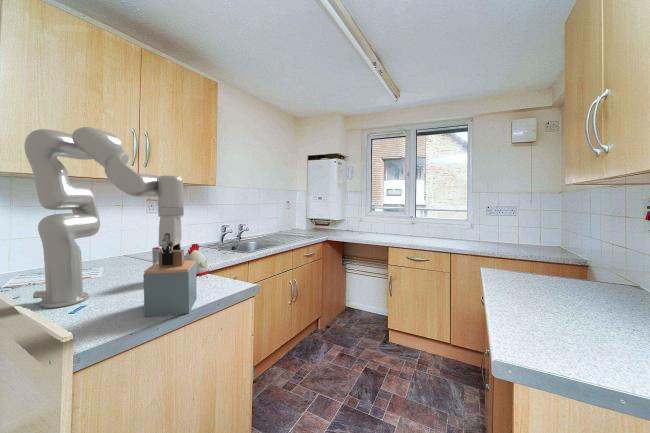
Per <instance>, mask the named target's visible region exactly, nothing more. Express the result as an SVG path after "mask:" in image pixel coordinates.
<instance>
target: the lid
mask: <svg viewBox="0 0 650 433" xmlns="http://www.w3.org/2000/svg"><path fill="white" fill-rule="evenodd" d="M172 253H173V265H162V251H160V252H159V262H156V263H155V264H153V263H152V264H151V266H150V267H148V268H146V269H145V270H143V271H144V273H143V274H158V273H180V272H189V270H190V269H191V268H192V267H193V265H194V264H195V260H188V261H184V256H185V249H181V250H172Z"/></svg>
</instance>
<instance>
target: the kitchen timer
mask: <svg viewBox="0 0 650 433" xmlns="http://www.w3.org/2000/svg"><path fill="white" fill-rule="evenodd" d="M199 250H200V245H199V243H193V244H192V243H191V246H190V247H189V249H187V252H186V253H185V254H184V261H188V260H195V263H196V278H198V277H197V276H199V277H203V276H202V275H204V276H206V275H208V274H209V273H210V267H209V260H208V259H207V258H206V257H205V256H204V254H203V253H202V252H200V251H199Z"/></svg>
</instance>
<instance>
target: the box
mask: <svg viewBox="0 0 650 433" xmlns="http://www.w3.org/2000/svg"><path fill="white" fill-rule="evenodd" d="M196 301H197V277H196V263H195V264H194V265H193V267H192V268H191V269H190V270H189V272H180V273H158V274H144V273H143V309H144V310H143V311H144V313H143V315H144V318H148V317H149V318H151V317H163V316H174V315H175V316H176V315H185V314H190V312H191V310H192V308H193V307H194V305H195V303H196Z"/></svg>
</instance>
